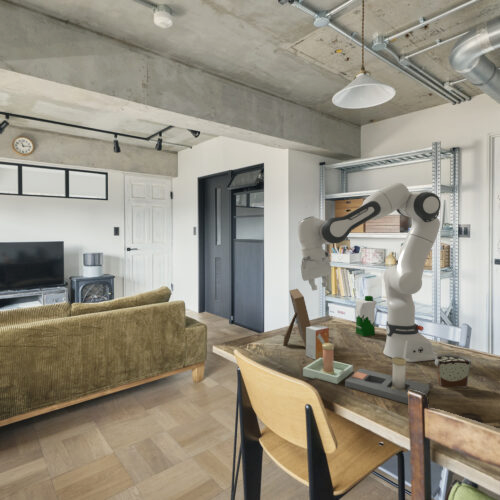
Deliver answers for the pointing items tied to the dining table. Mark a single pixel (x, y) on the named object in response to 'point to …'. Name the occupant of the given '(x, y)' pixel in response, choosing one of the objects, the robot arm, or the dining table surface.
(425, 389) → the block
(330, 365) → the marked fuse
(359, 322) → the milk carton
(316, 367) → the tray
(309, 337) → the small box
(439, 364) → the food container
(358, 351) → the dining table surface
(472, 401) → the dining table surface
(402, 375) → the cylinder
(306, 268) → the robot arm
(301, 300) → the photo frame
